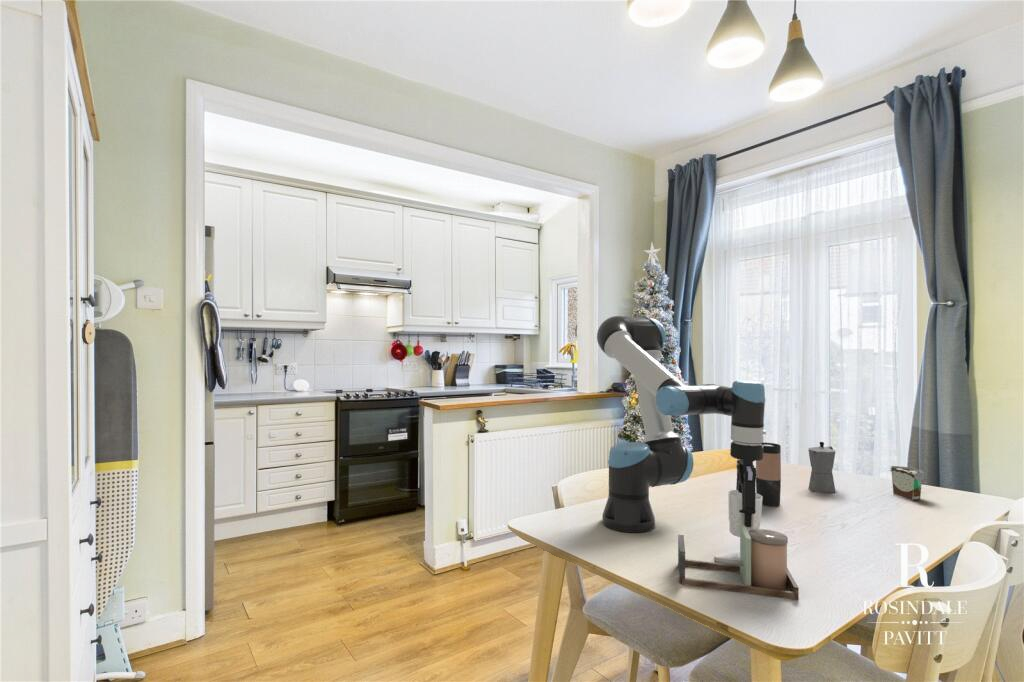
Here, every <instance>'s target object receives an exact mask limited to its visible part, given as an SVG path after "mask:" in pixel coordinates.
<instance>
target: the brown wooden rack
mask: <svg viewBox="0 0 1024 682" xmlns="http://www.w3.org/2000/svg"><path fill="white" fill-rule="evenodd" d="M684 537H685V536H684V534H678V536H677V538H678V539H677V541H678V542H677V543H678V544H677V550H678V551H677V552H678V553H677V555H678V556H677V565H678V567H677V568H678V583H679V584H682V585H684V586H693V587H700V588H705V589H706V588H707V589H713V590H714V589H715V590H722V591H730V592H736V593H746V594H752V595H758V596H759V595H760V596H766V597H775V598H782V599H790V600H798V601H799V588H800V587H799V586H798V584H797V582H796V581H795V579H794V578H793V575H792V573H791V572H790V570H789V569H788V567H787V589H788V590H786V591H784V590H776V589H768V588H761V587H753V586H752V585H751V586H745V585H744V584H736V583H727V582H722V581H714V580H713V581H712V580H706V579H698V578H689V577H686V566H687V567H694V568H703V569H712V570H719V571H726V572H734V573H735V572H736V573H740V566H737V565H729V564H721V563H714V561H713V562H712V561H703V560H696V559H695V560H694V559H689V558H688V559H686V546H685V544H686V543H685V538H684Z"/></svg>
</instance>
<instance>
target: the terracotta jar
mask: <svg viewBox="0 0 1024 682" xmlns="http://www.w3.org/2000/svg"><path fill="white" fill-rule="evenodd" d="M748 533H749V535H750V537H751V586H753V587H761V588H768V589H776V590H784V591H788V590H787V589H788V586H787V568H788V544H789V541H788V540H789V538H788V536H787V535H785V534H784V533H781V532H779V531H776V530H770V529H763V528H759V529H753V530H750V531H749V532H748Z"/></svg>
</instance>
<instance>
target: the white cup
mask: <svg viewBox="0 0 1024 682" xmlns="http://www.w3.org/2000/svg"><path fill="white" fill-rule="evenodd" d="M727 497H728V499H727V500H728V502H727V503H728V522H729V526H728V527H729V528H728V529H729V533H730V534H731V535H733V536H735V537H737V538H740V525H741V513H739V510H742V493H740V492H738V490H736V489H732V490H729V491H728V493H727ZM762 498H763V497H762V496H761V495H760V494H757V493H756V492H755V510H756V512H755V514H754V521H753V529H761V528H760V527H761V521H762V520H761V519H762V509H763V508H762V507H763V505H762Z"/></svg>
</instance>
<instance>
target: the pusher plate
mask: <svg viewBox="0 0 1024 682" xmlns="http://www.w3.org/2000/svg"><path fill="white" fill-rule="evenodd" d="M739 550H740V551H739V559H736V558H735V559H734V558H727V557H716V556H715V557H713V563H721V564H729V565H737V566H740V572H739V573H740V576H741V578H742V581H743V585H745V586H752V585H751V537H750V535H749V533H748V531H747V529H746V526H745V525H740V537H739Z"/></svg>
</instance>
